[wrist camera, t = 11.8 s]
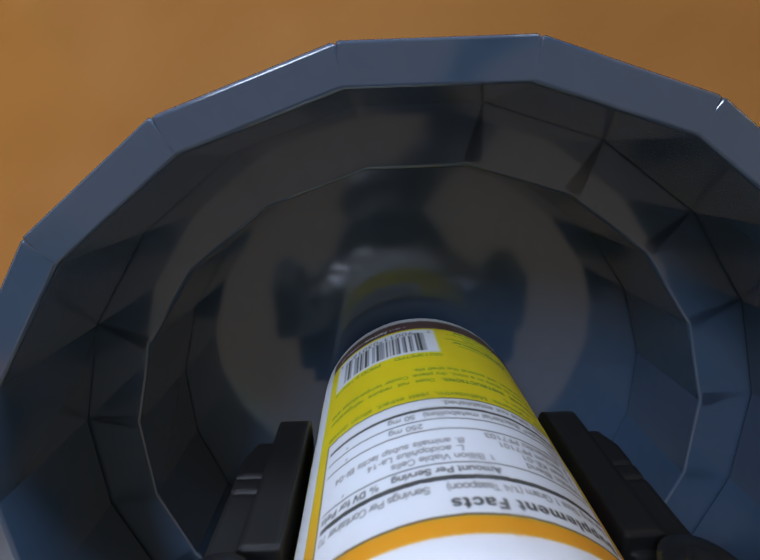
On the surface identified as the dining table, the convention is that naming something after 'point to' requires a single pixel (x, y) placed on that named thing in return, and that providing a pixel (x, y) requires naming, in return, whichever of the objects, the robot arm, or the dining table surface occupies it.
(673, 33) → the dining table surface
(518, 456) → the supplement bottle
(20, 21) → the dining table surface
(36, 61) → the dining table surface
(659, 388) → the bowl
